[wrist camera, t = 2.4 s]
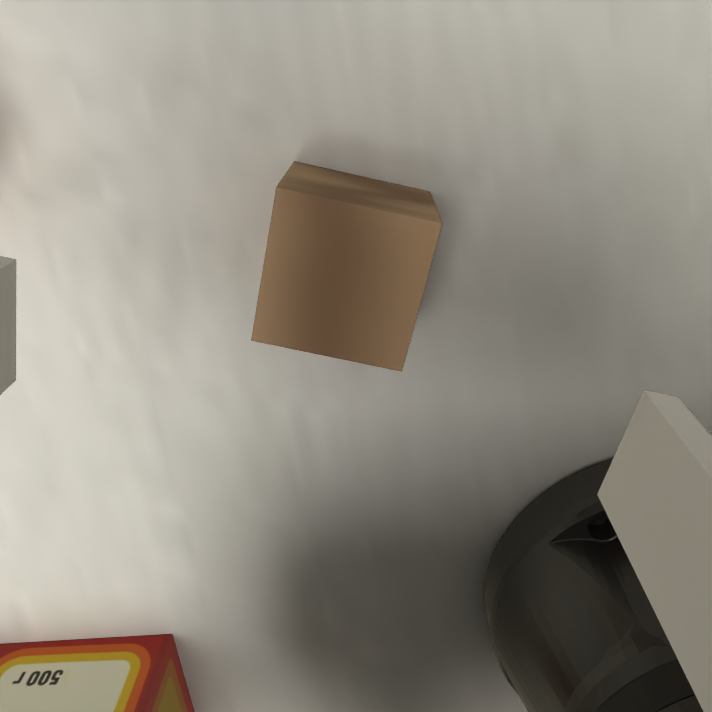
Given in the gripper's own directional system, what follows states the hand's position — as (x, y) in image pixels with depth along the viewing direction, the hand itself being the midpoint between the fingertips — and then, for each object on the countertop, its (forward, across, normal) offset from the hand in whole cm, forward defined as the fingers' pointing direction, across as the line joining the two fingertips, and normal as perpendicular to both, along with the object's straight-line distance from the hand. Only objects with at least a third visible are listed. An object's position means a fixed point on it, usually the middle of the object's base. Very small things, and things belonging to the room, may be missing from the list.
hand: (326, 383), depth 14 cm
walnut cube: (+12, 0, 0) cm, 12 cm away
